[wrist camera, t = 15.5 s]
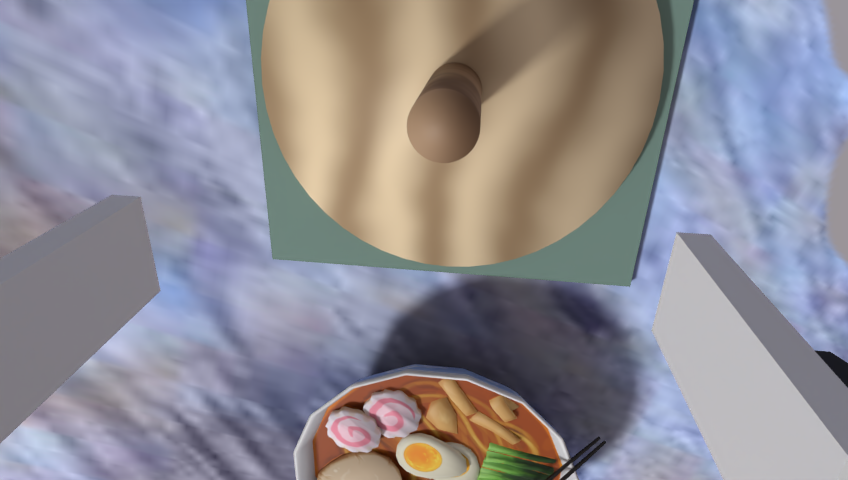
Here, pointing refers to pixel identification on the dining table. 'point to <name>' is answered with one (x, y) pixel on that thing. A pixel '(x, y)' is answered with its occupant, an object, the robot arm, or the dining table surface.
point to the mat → (561, 261)
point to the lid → (461, 116)
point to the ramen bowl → (431, 431)
